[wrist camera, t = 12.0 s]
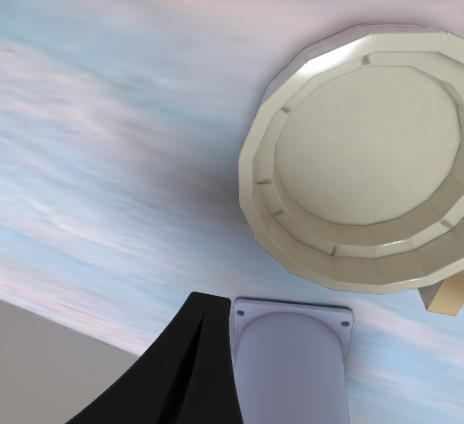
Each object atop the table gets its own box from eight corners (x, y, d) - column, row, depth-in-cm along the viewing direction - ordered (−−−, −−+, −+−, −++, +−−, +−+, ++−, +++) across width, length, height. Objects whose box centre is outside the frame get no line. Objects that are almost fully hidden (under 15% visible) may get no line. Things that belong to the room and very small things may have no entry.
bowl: (448, 246, 20) (483, 305, 16) (251, 232, 22) (240, 281, 18) (530, 20, 14) (613, 29, 10) (251, 25, 16) (236, 34, 12)
